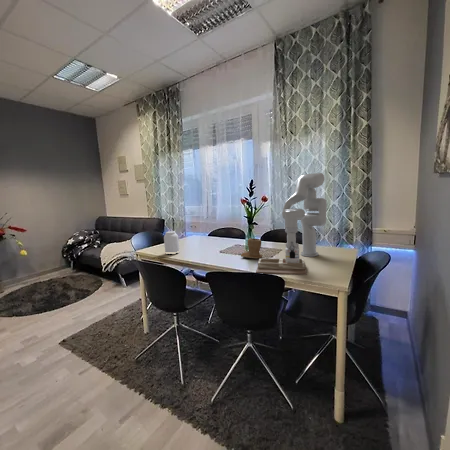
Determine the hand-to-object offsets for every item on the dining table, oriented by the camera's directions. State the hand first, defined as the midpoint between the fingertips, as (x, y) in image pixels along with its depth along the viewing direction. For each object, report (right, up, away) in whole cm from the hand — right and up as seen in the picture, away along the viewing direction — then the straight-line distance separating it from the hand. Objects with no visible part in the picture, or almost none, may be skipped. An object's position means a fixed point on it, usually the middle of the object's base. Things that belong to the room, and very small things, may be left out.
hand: (292, 255), depth 153 cm
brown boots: (-22, -5, +31) cm, 38 cm away
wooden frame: (-6, -8, +3) cm, 11 cm away
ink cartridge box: (0, -7, +1) cm, 7 cm away
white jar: (-90, -6, +60) cm, 109 cm away
